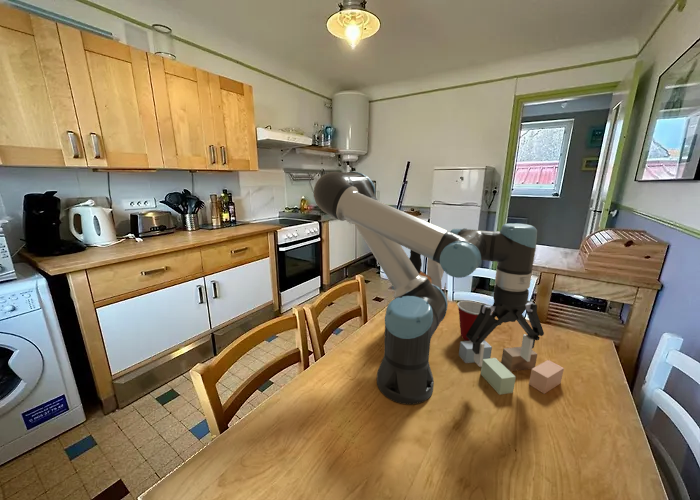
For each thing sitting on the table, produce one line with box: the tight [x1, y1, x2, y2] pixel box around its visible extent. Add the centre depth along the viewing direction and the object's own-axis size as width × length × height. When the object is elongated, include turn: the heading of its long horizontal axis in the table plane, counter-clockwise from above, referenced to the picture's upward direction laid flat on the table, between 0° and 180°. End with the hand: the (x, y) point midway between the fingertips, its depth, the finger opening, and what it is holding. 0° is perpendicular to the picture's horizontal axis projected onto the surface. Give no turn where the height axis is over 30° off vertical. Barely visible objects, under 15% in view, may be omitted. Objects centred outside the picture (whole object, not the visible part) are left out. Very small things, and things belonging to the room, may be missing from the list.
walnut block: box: [500, 346, 538, 372], centre depth 84 cm, size 8×4×5 cm, turn 99°
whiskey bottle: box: [408, 249, 432, 282], centre depth 103 cm, size 10×10×32 cm
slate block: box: [458, 339, 493, 364], centre depth 88 cm, size 8×4×5 cm, turn 97°
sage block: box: [480, 357, 517, 395], centre depth 77 cm, size 8×4×5 cm, turn 10°
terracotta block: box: [528, 359, 565, 394], centre depth 77 cm, size 8×4×5 cm, turn 119°
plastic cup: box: [457, 300, 483, 341], centre depth 98 cm, size 11×11×12 cm
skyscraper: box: [426, 258, 447, 297], centre depth 115 cm, size 8×8×28 cm
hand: (501, 361), depth 76 cm, fingers open, 13 cm apart
